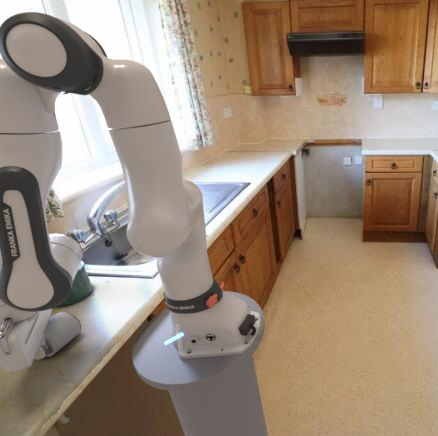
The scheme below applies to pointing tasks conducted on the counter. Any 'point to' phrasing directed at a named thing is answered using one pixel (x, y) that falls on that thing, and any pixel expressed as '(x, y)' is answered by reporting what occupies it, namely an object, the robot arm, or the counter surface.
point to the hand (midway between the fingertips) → (42, 354)
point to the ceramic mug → (60, 331)
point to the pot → (79, 288)
